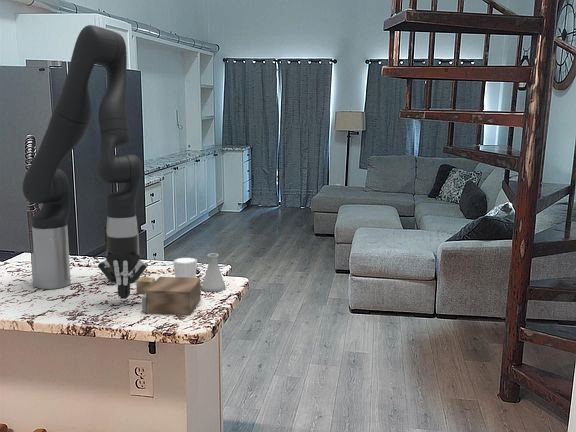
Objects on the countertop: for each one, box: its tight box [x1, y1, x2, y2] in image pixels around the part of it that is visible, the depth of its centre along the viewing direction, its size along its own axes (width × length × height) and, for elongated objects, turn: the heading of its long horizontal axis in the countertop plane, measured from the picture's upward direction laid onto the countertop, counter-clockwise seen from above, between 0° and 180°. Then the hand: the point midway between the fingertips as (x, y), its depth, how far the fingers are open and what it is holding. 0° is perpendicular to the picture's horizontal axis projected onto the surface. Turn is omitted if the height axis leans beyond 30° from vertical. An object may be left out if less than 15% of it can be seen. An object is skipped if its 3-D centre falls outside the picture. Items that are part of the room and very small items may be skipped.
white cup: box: [172, 257, 198, 278], centre depth 168 cm, size 7×7×7 cm
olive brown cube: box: [135, 276, 156, 295], centre depth 160 cm, size 4×4×4 cm
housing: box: [146, 276, 202, 316], centre depth 148 cm, size 11×12×6 cm
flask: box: [200, 252, 226, 293], centre depth 163 cm, size 7×7×10 cm
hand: (124, 297), depth 150 cm, fingers closed
